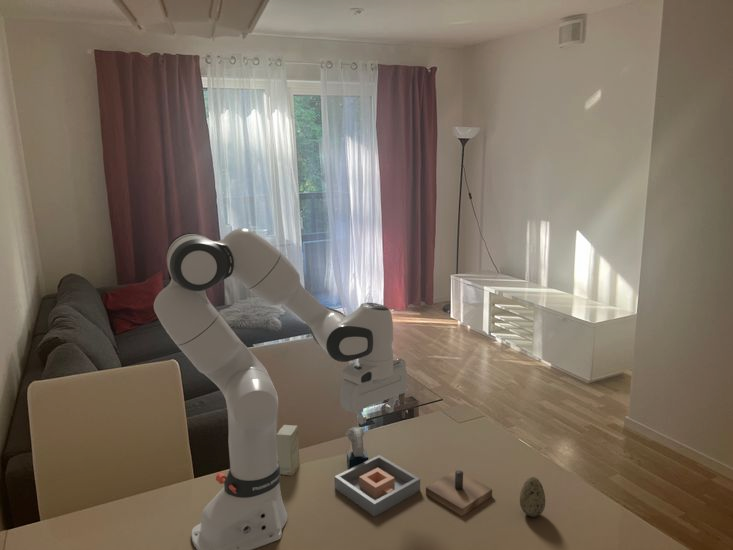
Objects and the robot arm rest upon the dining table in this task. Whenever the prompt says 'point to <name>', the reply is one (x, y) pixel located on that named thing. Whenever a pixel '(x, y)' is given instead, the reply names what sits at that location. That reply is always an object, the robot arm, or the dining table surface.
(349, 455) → the watch
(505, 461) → the dining table surface
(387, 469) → the tray
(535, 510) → the decorative egg
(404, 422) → the dining table surface
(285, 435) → the skincare box
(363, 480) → the ring
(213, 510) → the robot arm
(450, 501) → the base
